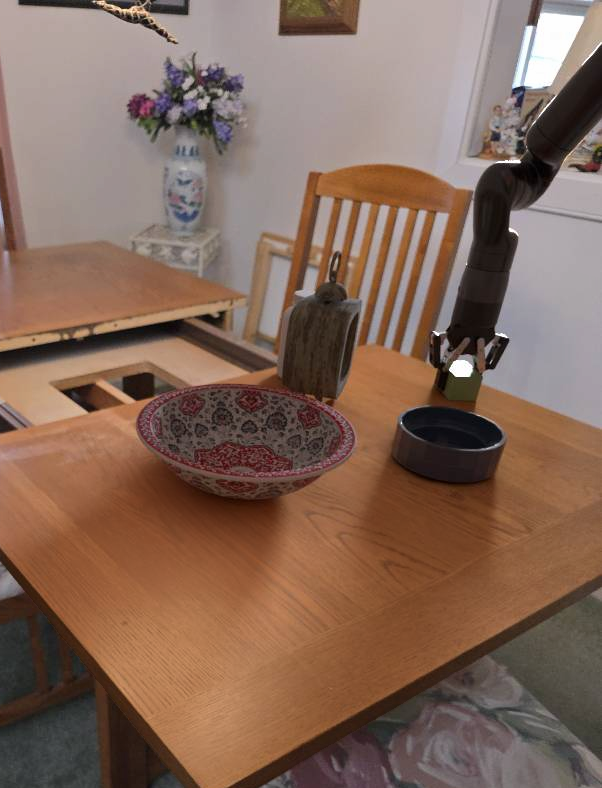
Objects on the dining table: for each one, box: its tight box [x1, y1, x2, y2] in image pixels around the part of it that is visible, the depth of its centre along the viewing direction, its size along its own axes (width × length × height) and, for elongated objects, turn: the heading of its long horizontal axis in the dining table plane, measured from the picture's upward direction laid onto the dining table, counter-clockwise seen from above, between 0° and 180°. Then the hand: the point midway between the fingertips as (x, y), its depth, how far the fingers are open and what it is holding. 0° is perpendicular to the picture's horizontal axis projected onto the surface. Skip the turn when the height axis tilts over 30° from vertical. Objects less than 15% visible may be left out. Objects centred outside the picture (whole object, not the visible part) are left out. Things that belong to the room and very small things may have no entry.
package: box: [433, 360, 484, 402], centre depth 127 cm, size 5×8×4 cm, turn 3°
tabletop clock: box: [281, 250, 363, 403], centre depth 112 cm, size 14×9×25 cm, turn 160°
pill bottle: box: [276, 289, 316, 379], centre depth 127 cm, size 8×8×15 cm
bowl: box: [390, 405, 508, 483], centre depth 104 cm, size 15×15×6 cm
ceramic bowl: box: [135, 383, 357, 500], centre depth 95 cm, size 29×29×8 cm
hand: (455, 389), depth 128 cm, fingers closed on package, 5 cm apart
